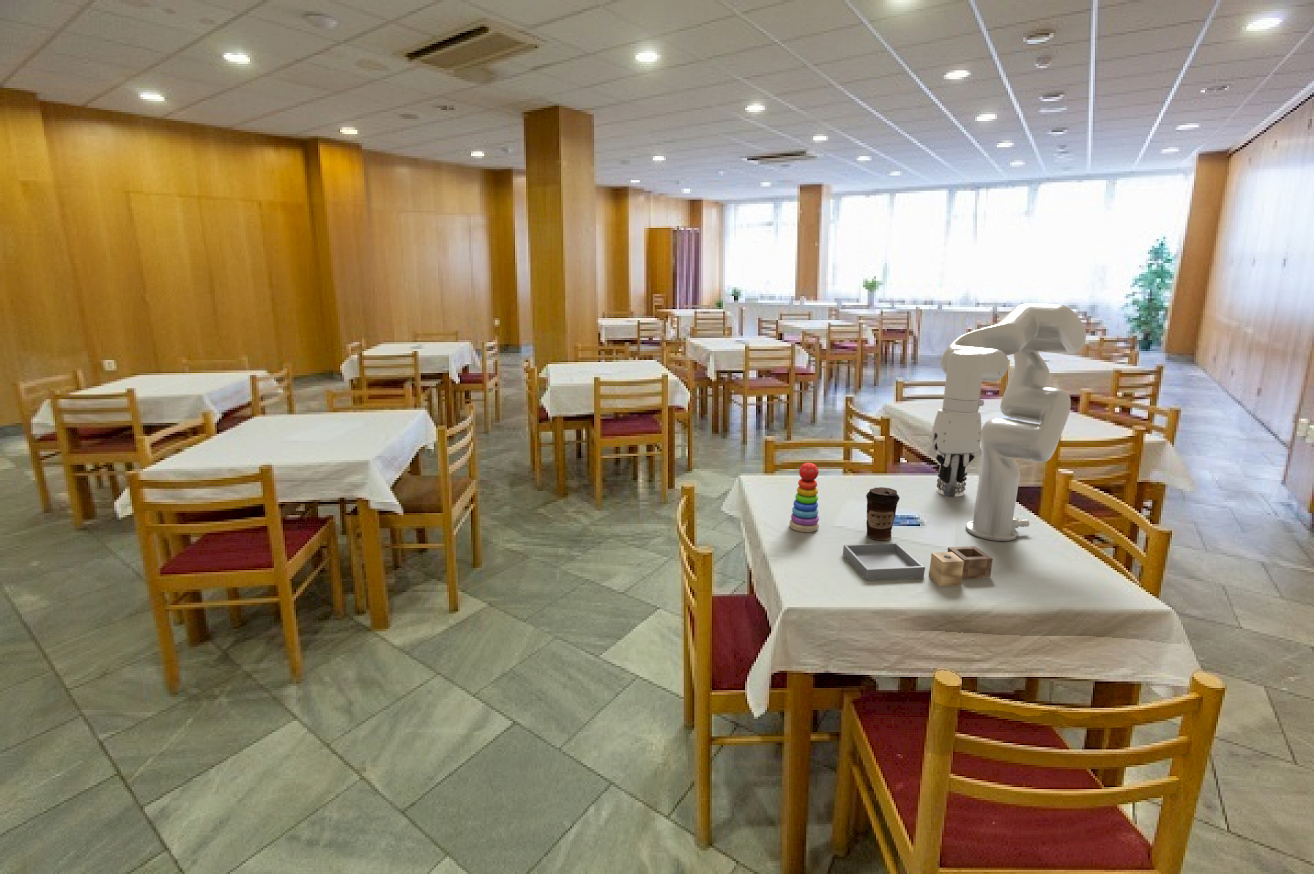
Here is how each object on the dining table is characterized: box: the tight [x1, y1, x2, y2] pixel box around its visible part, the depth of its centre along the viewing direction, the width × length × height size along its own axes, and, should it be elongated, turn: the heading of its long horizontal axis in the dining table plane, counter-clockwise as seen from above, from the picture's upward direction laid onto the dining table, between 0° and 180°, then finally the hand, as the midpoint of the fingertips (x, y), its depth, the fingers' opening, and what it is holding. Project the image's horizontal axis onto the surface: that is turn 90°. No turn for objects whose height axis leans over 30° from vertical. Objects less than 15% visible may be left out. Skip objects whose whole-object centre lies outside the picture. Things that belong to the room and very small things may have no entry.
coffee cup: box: [865, 487, 900, 541], centre depth 176 cm, size 9×8×13 cm
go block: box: [946, 545, 994, 580], centre depth 157 cm, size 7×7×5 cm
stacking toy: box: [789, 462, 820, 533], centre depth 181 cm, size 8×8×19 cm
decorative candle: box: [935, 463, 968, 497], centre depth 211 cm, size 9×9×25 cm
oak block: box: [928, 551, 964, 587], centre depth 152 cm, size 5×5×6 cm
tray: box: [842, 542, 926, 581], centre depth 160 cm, size 14×14×3 cm
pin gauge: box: [942, 454, 961, 498], centre depth 157 cm, size 3×3×12 cm
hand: (951, 480), depth 157 cm, fingers closed on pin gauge, 2 cm apart
